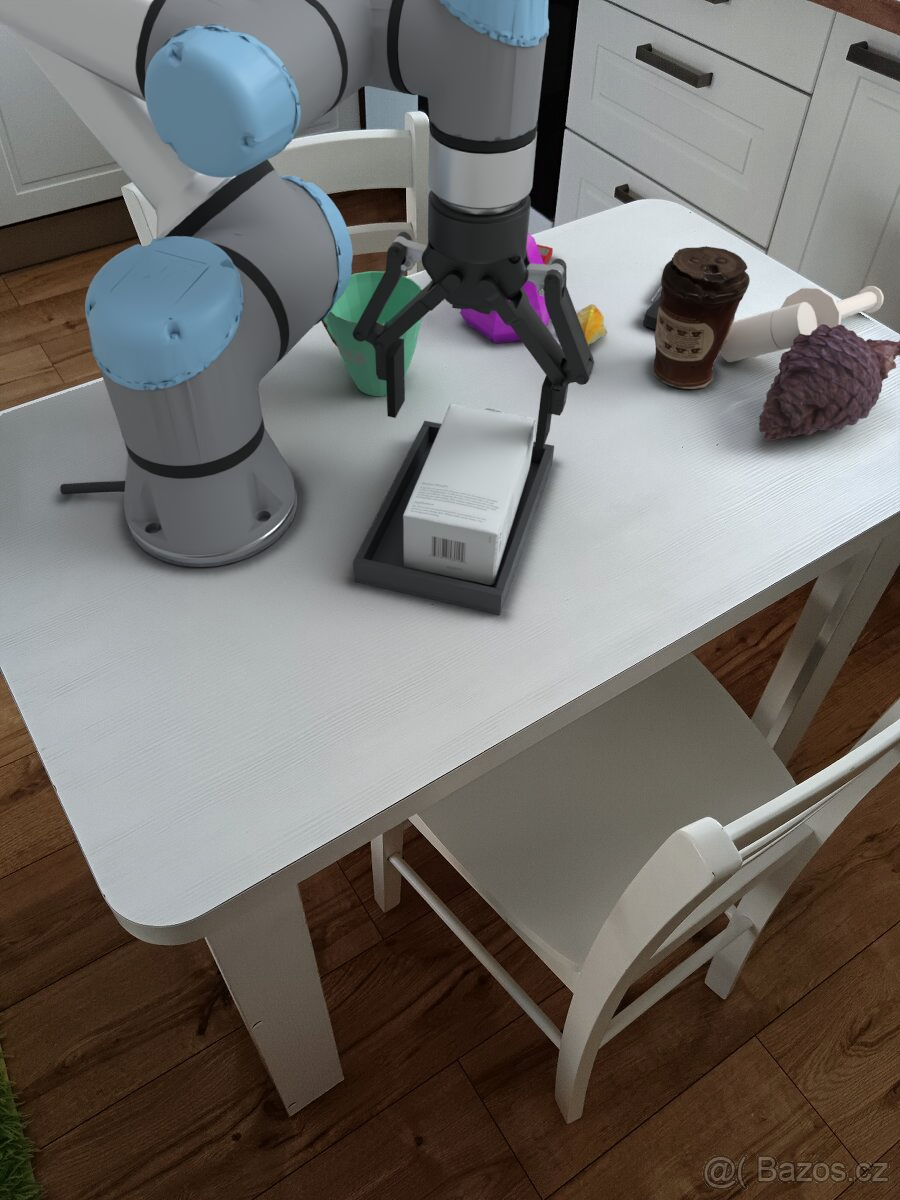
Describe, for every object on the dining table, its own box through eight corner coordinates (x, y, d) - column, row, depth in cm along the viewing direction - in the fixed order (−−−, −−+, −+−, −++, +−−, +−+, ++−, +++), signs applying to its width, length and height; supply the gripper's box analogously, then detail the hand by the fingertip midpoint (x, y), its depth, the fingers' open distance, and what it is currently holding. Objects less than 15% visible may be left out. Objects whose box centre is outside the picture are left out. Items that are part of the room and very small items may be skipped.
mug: (444, 383, 100) (445, 298, 92) (373, 423, 95) (367, 337, 88) (356, 326, 107) (349, 243, 99) (286, 361, 102) (273, 276, 95)
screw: (675, 271, 115) (670, 269, 115) (676, 266, 115) (671, 265, 115) (653, 304, 111) (648, 302, 111) (654, 299, 110) (649, 298, 110)
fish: (571, 293, 109) (614, 298, 108) (569, 310, 110) (612, 315, 109) (554, 349, 100) (601, 354, 99) (552, 366, 102) (599, 372, 101)
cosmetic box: (494, 588, 79) (534, 473, 90) (499, 531, 75) (541, 416, 85) (399, 567, 81) (449, 455, 91) (397, 509, 76) (450, 399, 86)
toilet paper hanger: (823, 355, 94) (810, 286, 92) (725, 377, 102) (711, 314, 100) (905, 321, 107) (895, 260, 105) (813, 343, 115) (802, 287, 114)
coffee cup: (698, 408, 97) (727, 294, 88) (627, 379, 101) (648, 265, 91) (735, 369, 102) (767, 256, 92) (667, 342, 105) (690, 230, 96)
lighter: (552, 254, 117) (493, 239, 119) (552, 245, 116) (492, 231, 118) (544, 268, 116) (484, 253, 118) (544, 260, 115) (483, 245, 117)
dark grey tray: (500, 615, 79) (501, 595, 77) (354, 581, 81) (352, 562, 79) (552, 464, 91) (554, 445, 90) (424, 439, 94) (424, 420, 92)
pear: (444, 307, 110) (445, 178, 98) (528, 287, 113) (538, 159, 101) (488, 359, 103) (494, 227, 92) (575, 335, 106) (592, 205, 95)
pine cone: (799, 489, 91) (794, 407, 84) (725, 448, 98) (716, 369, 91) (929, 392, 95) (936, 306, 88) (850, 359, 102) (849, 277, 95)
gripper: (658, 195, 69) (613, 426, 85) (337, 143, 73) (351, 372, 89) (642, 244, 64) (597, 479, 80) (300, 186, 68) (322, 420, 85)
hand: (468, 423), depth 85 cm, fingers open, 13 cm apart
